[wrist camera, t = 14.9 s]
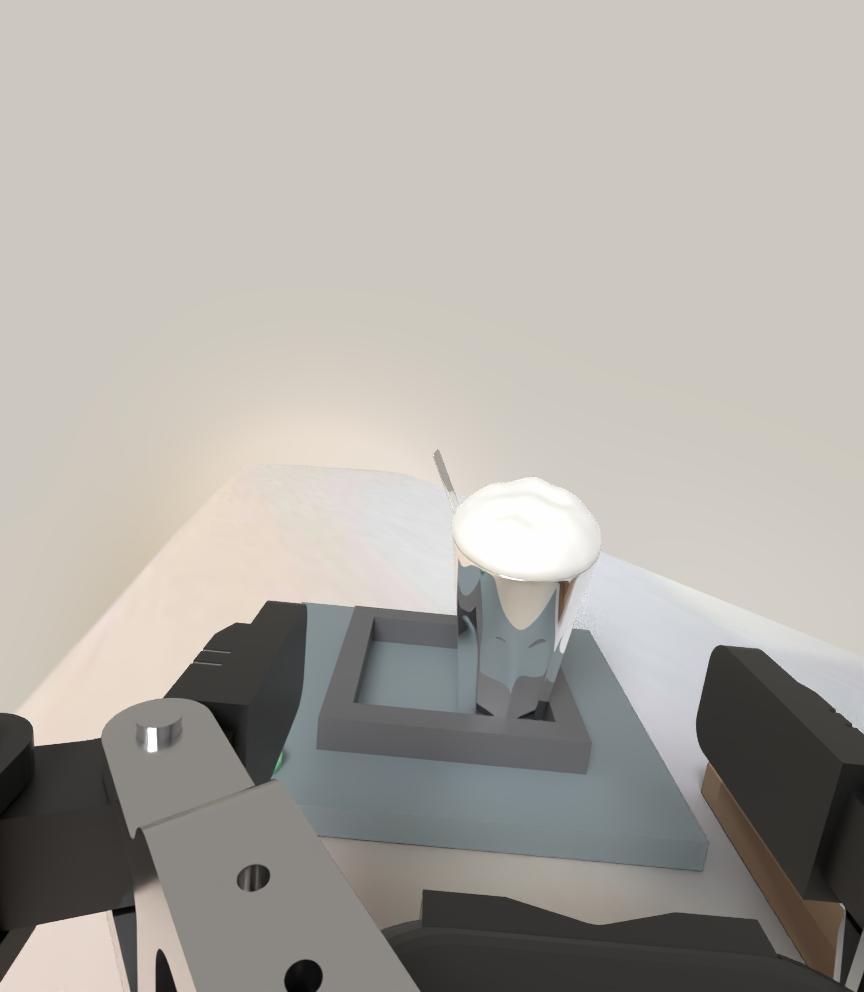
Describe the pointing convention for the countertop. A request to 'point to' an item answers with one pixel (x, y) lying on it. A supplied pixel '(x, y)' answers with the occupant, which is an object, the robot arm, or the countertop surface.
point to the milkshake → (517, 590)
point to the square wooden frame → (777, 882)
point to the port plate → (474, 752)
